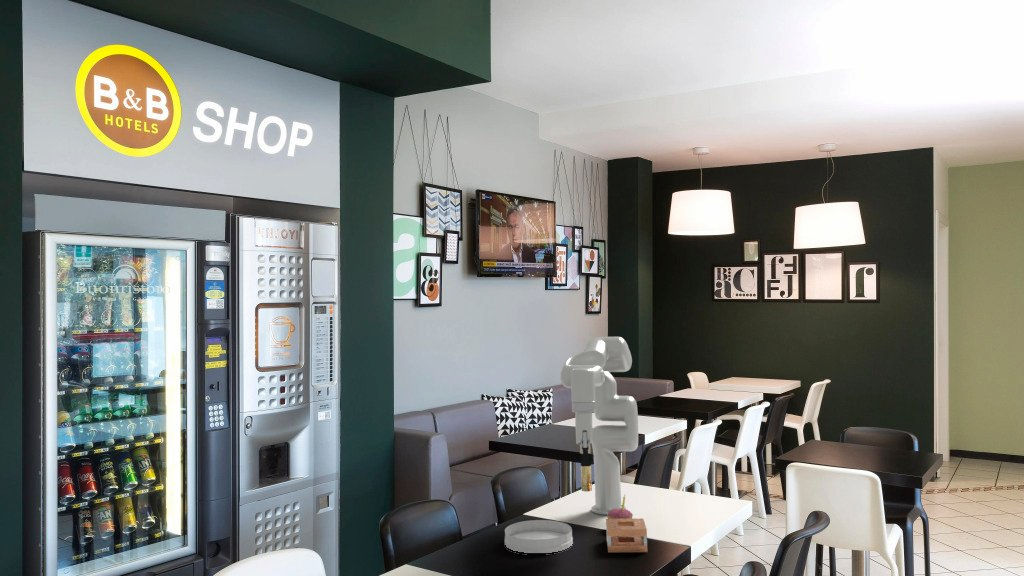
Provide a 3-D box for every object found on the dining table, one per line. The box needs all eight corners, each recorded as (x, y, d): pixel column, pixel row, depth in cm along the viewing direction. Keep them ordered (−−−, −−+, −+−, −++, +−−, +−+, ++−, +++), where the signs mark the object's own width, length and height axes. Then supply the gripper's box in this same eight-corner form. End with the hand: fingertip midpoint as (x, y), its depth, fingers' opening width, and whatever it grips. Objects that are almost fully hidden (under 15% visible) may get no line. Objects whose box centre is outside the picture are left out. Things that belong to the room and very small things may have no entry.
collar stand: (606, 540, 248) (606, 518, 249) (644, 540, 247) (643, 518, 248) (608, 552, 236) (607, 529, 237) (647, 552, 235) (646, 529, 236)
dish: (561, 558, 233) (561, 542, 233) (494, 552, 241) (493, 536, 241) (580, 537, 254) (580, 522, 254) (518, 532, 261) (517, 517, 262)
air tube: (581, 489, 245) (579, 432, 245) (591, 488, 244) (589, 432, 244) (581, 491, 241) (579, 434, 242) (591, 491, 241) (589, 434, 241)
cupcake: (635, 526, 262) (633, 491, 263) (630, 534, 254) (629, 497, 255) (610, 525, 265) (609, 490, 266) (605, 532, 257) (603, 496, 258)
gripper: (572, 403, 252) (574, 459, 251) (571, 411, 235) (573, 470, 235) (594, 402, 251) (597, 459, 251) (596, 410, 235) (598, 470, 234)
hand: (585, 464), depth 243 cm, fingers closed on air tube, 3 cm apart
